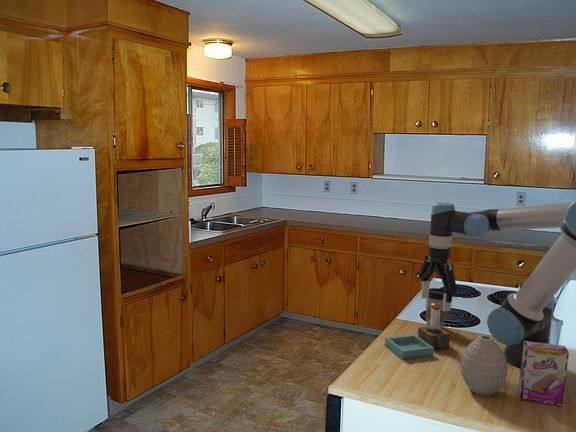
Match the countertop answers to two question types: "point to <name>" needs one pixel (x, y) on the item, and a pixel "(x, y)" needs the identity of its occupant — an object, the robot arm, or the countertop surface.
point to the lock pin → (435, 317)
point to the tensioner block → (434, 337)
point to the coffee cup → (435, 296)
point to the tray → (409, 347)
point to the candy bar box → (543, 372)
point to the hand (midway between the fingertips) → (435, 304)
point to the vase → (484, 366)
